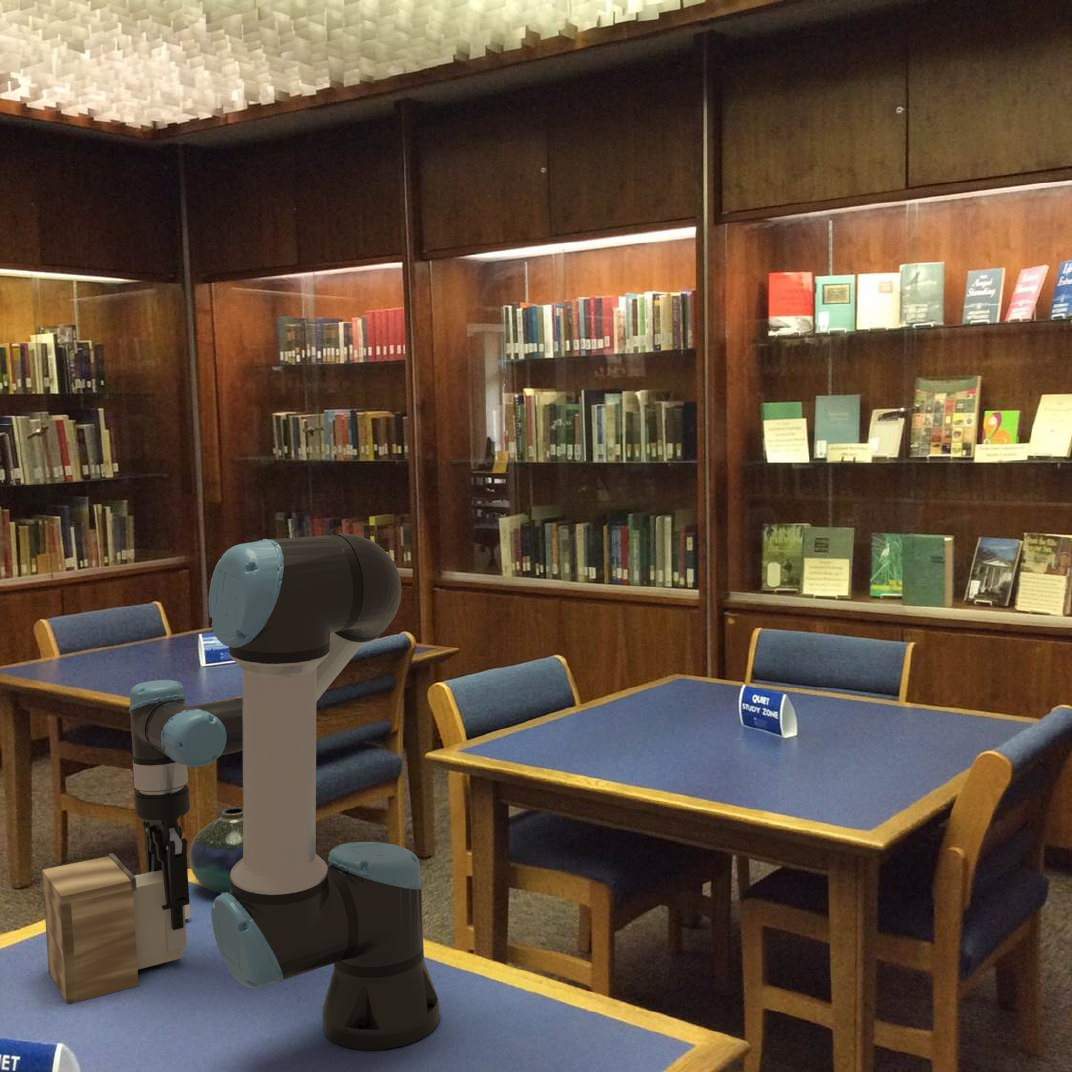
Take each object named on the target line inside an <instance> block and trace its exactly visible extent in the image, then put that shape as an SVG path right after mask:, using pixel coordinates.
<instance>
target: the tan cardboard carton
mask: <svg viewBox="0 0 1072 1072" xmlns="http://www.w3.org/2000/svg"><path fill="white" fill-rule="evenodd" d="M133 876H134V877H135V878H136V889H137V891H133V897H134V915H135V932H136V950H137V967H138V970H141V969H145V968H149V967H153V966H157V965H161V964H164V963H168V962H172V961H176V960H180V959H184V948H182V949H178V950H174V951H170V952H168V951H167V946H166V928H165V911H164V910H163V909H162V905H166V895H165V888H164V880H163V872H162V870H159V871H155V872H149V873H147V872H145V873H141V874H136V875H133Z"/></svg>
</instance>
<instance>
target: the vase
mask: <svg viewBox="0 0 1072 1072" xmlns="http://www.w3.org/2000/svg"><path fill="white" fill-rule="evenodd" d="M242 858H243V807H240V806H239V807H238V806H237V807H230V808H229V807H228V808H226V809H223V810H222V812H221V816H220V817H218V818H216V819H214V820H213V821H211V822H210V823H208V824H207V825H205V826H204V827H203V828H202V829H201V830H199V831H198V833H196V835H195V836H194V838H193V840H192V842H191V844H190V847H189V850H188V859H189V865H190V866H189V867H190V868H191V869H190V870H191V872H192V873H193V875H194V877H195V879H196V880H197V882H198V883H199V884H200V885H202V886H203V887H204V888H206V889H207V890H209V891H212V892H213V893H217V894H222V893H227V892H228V893H229V892H230V874H231V870H232V868H233V867H234V865H235V864H237V863H238V862H239V861H240V860H241V859H242Z"/></svg>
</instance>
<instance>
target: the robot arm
mask: <svg viewBox="0 0 1072 1072" xmlns="http://www.w3.org/2000/svg"><path fill="white" fill-rule="evenodd" d="M401 580H402V579H401V576H400V573H399V570H398V568H397V566H396V564H395V562H394V560H393V558H392V557H391V555H389V554H388V552H386V551H385V549H384V548H383V547H381V546H380V545H379V544H378V543H376V542H374V541H373V540H371V539H368V538H366V537H364V536H361V535H358V534H357V535H356V534H351V533H337V534H336V533H335V534H330V535H329V534H327V535H318V536H317V535H315V536H302V537H301V536H300V537H288V538H273V539H267V538H262V539H260V540H257V541H253V542H246V543H239V544H237V545H233V546H231V547H230V548H229V549H227V550H226V551H225V552H224V553H223V554H222V556H221V558H220V559H219V560H218V562H217V563H216V565H215V568H214V570H213V572H212V576H211V580H210V585H209V592H208V615H209V618H210V619H212V621H211V629H212V631H213V633H214V635H215V637H216V639H217V640H218V642H220V644H222V645H224V646H226V647H228V656H229V657H230V658H231V660H232V661H234V662H235V663H236V664H237V666H239V667H240V668H241V670H242V675H241V676H242V679H241V680H242V696H241V697H236V698H231V699H224V700H219V701H218V700H217V701H211V702H207V703H200V704H195V705H188V704H186V703H185V702H186V696H185V694H184V687H183V685H182V683H181V682H180V681H177V680H173V679H172V680H171V679H159V680H150V681H144V682H140V683H137V684H135V685H134V686H133V687H131V689H130V692H129V709H128V712H129V715H130V727H131V728H130V729H131V731H130V732H131V742H132V757H133V759H132V767H133V785H134V786H133V787H134V788H135V789H136V790H137V791H136V792H135V794H134V798H135V799H134V800H135V814H136V816H137V817H138V818H139V819H141V820H142V821H143V822H142V826H143V830H144V831H143V832H144V843H145V858H146V859H145V862H146V864H145V865H146V873H149V872H155V871H159V870H162V872H163V880H164V888H165V895H166V905H162V909H163V910H164V911H165V928H166V946H167V951H168V952H170V951H174V950H178V949H182V948H183V949H185V948H187V947H188V944H187V943H188V942H187V927H186V924H187V923H186V919H185V905H188V904H189V903H190V904H191V901H190V890H189V887H190V886H189V874H188V873H189V872H188V870H189V869H188V857H187V853H188V840H187V838H186V837H184V838H182V837H183V830H182V826H181V825H179V821H178V819H179V818H180V817H181V816H184V815H186V814H187V813H188V812H189V811H190V809H191V805H190V804H191V802H190V801H191V800H190V787H189V786H188V785H186V784H187V783H188V782H189V774H188V773H189V772H188V767H193V768H200V767H201V768H202V767H203V768H204V767H205V766H209V765H210V764H212V763H213V762H215V761H216V760H217V759H218V758H220V757H221V756H223V755H228V754H233V753H234V754H235V753H239V752H242V808H243V858H242V859H241V860H240V861H239V862H238V863H237V864H235V865H234V867H233V868H232V870H231V874H230V892H229V893H228V892H227V893H220V895H218V896H216V897H215V899H214V901H213V903H212V906H211V923H212V930H213V934H214V938H215V941H216V946H217V947H218V950H219V952H220V954H221V957H222V960H223V961H224V963H225V966H226V968H227V969H228V971H229V972H230V974H231V975H232V976H233V977H234V979H235V980H237V981H238V983H240V984H242V985H243V986H244V987H247V988H255V989H256V988H260V987H262V986H267V985H270V984H274V983H275V984H280V983H283V982H284V980H288V979H290V978H294V977H296V976H299V975H300V976H301V975H303V974H305V973H308V972H312V971H315V970H318V969H320V968H324V967H326V966H330V965H333V971H332V975H331V976H330V977H331V978H330V981H329V985H328V989H327V992H326V996H325V998H324V1003H323V1007H322V1014H321V1017H322V1018H321V1019H322V1021H321V1022H322V1032H323V1033H324V1035H325V1037H326V1038H328V1039H329V1040H330V1041H331V1042H333V1043H334V1044H337V1045H339V1046H343V1047H345V1048H349V1049H354V1050H365V1051H377V1050H379V1051H380V1050H387V1049H388V1050H389V1049H394V1048H399V1047H403V1046H406V1045H409V1044H412V1043H415V1042H417V1041H419V1040H421V1039H423V1038H424V1037H426V1036H428V1035H430V1034H431V1033H432V1032H433V1031H434V1030H435V1029H436V1027H437V1026H438V1024H439V1022H440V1001H439V997H438V994H437V992H436V989H435V985H434V984H433V983H434V982H433V980H432V978H431V974H430V973H429V969H428V968H427V965H426V962H425V950H424V921H423V920H424V919H423V918H424V916H423V894H422V892H423V888H424V884H423V878H422V871H421V864H420V860H419V858H418V857H417V855H416V854H415V853H414V852H413V851H411V850H409V849H408V848H405V847H403V846H400V845H398V844H393V843H387V842H386V843H385V842H377V841H357V842H355V841H354V842H348V843H343V844H339V845H337V846H335V847H334V848H333V849H331V850H330V852H329V854H328V855H329V856H328V858H327V861H328V865H327V862H326V861H325V860H324V859H322V858H321V857H320V856H319V855H318V854H317V853H316V842H317V841H316V840H317V839H316V832H317V831H316V819H317V816H316V815H317V813H316V812H317V811H316V810H317V809H316V808H317V798H316V797H317V702H318V700H319V699H320V698H321V697H322V696H323V694H324V693H325V692H326V691H327V689H329V686H330V685H331V684H332V683H333V682H334V681H335V679H336V678H337V677H338V676H339V674H340V673H342V671H343V670H344V668H345V667H346V666H347V665H348V664H349V662H350V661H351V660H352V658H353V657H354V656H355V655H356V654H357V652H358V651H359V650H360V649H361V647H362V646H363V645H364V644H366V643H371V642H372V641H375V640H377V639H378V638H379V637H380V636H381V635H382V634H383V633H384V632H385V631H386V629H387V628H388V627H389V625H390V624H391V622H392V621H393V620H394V618H395V617H396V615H397V612H398V611H399V607H400V604H401V601H402V600H401V599H402V581H401Z"/></svg>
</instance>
